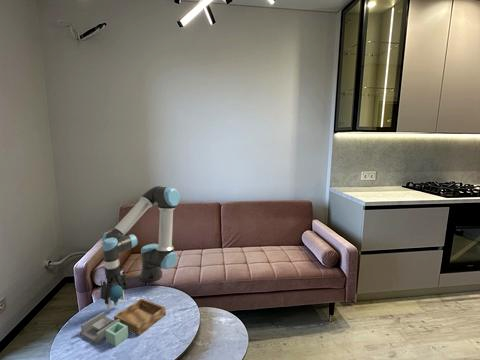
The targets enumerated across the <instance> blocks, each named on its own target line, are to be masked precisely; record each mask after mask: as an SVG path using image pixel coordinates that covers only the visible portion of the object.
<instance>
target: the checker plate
mask: <svg viewBox="0 0 480 360" xmlns="http://www.w3.org/2000/svg"><path fill="white" fill-rule="evenodd" d="M109 324H110V322H109V321H107V320H105V319H103V318H102V319H101V320H99V321H98V322H96V323H94V324H93V325H92V327H93V328H95V329H97V330H99V331H100V330H102V329H103V328H105V327H106V326H108V325H109Z"/></svg>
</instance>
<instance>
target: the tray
mask: <svg viewBox="0 0 480 360" xmlns="http://www.w3.org/2000/svg"><path fill="white" fill-rule="evenodd" d="M166 315H167V313H166V307H165V306H162V305H160V304H158V303H155V302H153V301H149V300H147V299H144V298H140V299H138V300H137V301H135V302H133V303H132V304H130V305H129V306H128V307H126V308H125V309H122V310H121V311H119V312H118V313H116V314H114V315H113V321H116V320H117V319H120V323H122V324H124V325H126V326H128V330H129V331H128V332H130V331H131V333H132V332H133V333H132V334H134V333H135V334H134V335H137V336H141V335H142V334H143V333H144V332H146V331H147V330H149V329H150V328H151V327H152V326H154V325H155V324H156V323H158V322H159V321H160V320H162V318H164V317H165V316H166Z"/></svg>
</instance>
